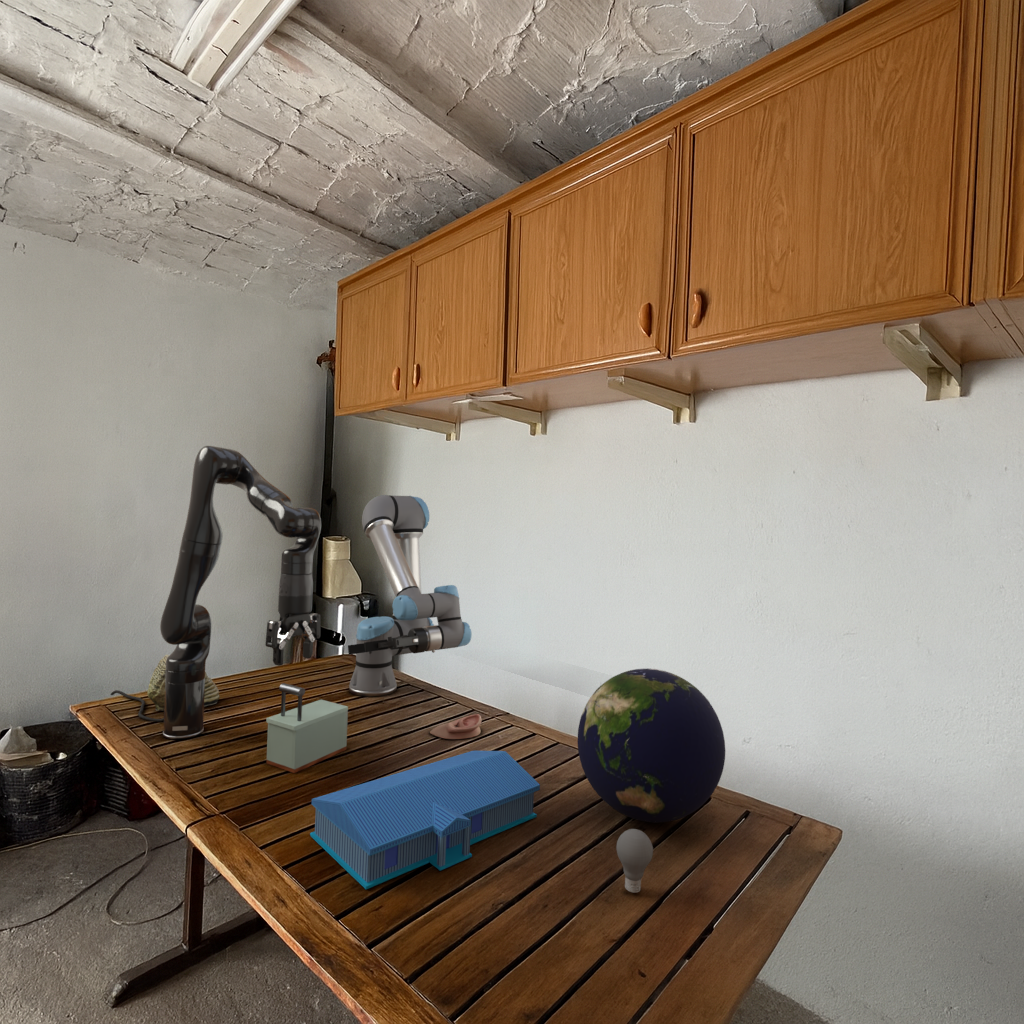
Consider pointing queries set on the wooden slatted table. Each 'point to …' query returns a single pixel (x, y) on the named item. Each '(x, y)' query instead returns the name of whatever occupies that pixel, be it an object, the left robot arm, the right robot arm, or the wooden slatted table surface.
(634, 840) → the light bulb
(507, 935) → the wooden slatted table surface
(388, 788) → the model building
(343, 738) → the chest
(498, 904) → the wooden slatted table surface
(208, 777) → the wooden slatted table surface
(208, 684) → the fossil
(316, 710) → the lid
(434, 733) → the anatomical model
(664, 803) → the globe
